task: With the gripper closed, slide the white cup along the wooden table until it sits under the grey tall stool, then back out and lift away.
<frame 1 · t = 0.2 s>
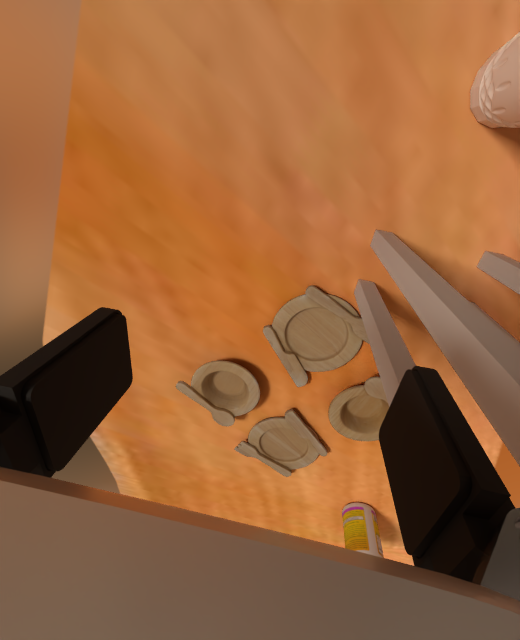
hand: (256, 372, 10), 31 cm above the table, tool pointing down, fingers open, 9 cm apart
supplement bottle: (358, 509, 62), on the table
grey tall stool: (442, 233, 35), on the table
white cup: (507, 86, 29), on the table
tableware set: (297, 390, 51), on the table
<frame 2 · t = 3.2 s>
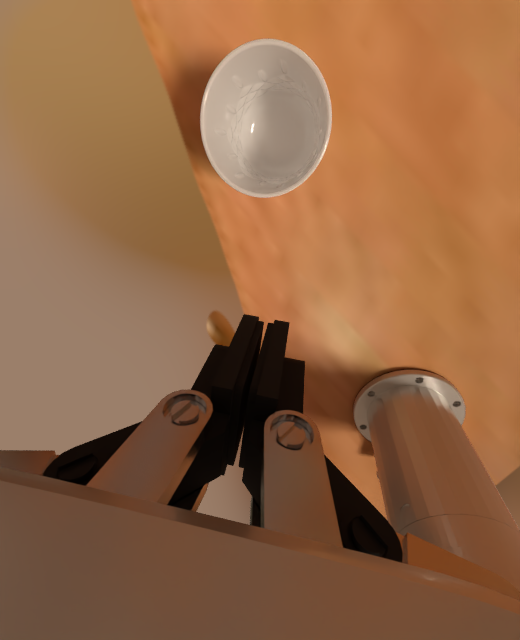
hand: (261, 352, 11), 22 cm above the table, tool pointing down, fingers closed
white cup: (281, 139, 27), on the table
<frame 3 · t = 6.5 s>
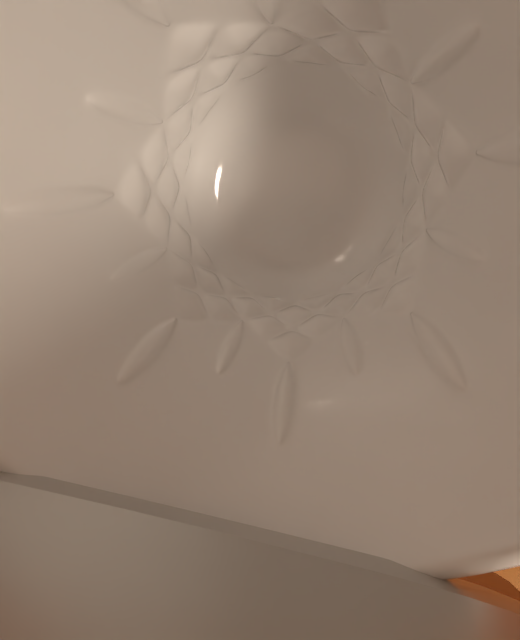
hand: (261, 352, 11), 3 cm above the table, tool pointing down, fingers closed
white cup: (294, 191, 11), on the table, touching gripper
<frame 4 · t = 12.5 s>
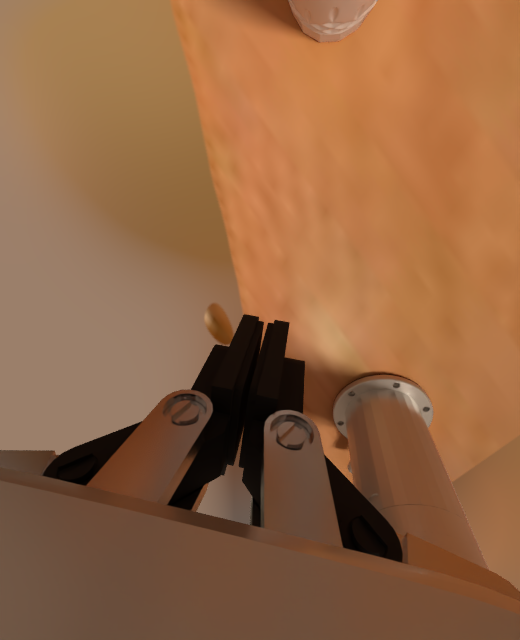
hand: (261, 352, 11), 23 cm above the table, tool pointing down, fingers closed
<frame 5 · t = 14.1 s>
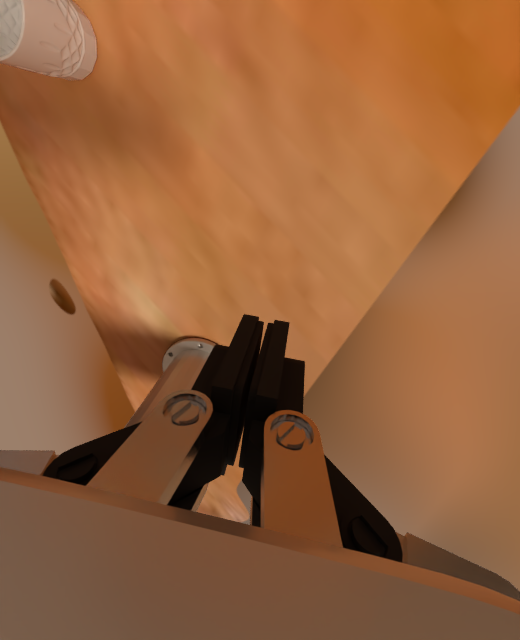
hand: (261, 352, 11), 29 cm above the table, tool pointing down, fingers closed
white cup: (69, 42, 32), on the table
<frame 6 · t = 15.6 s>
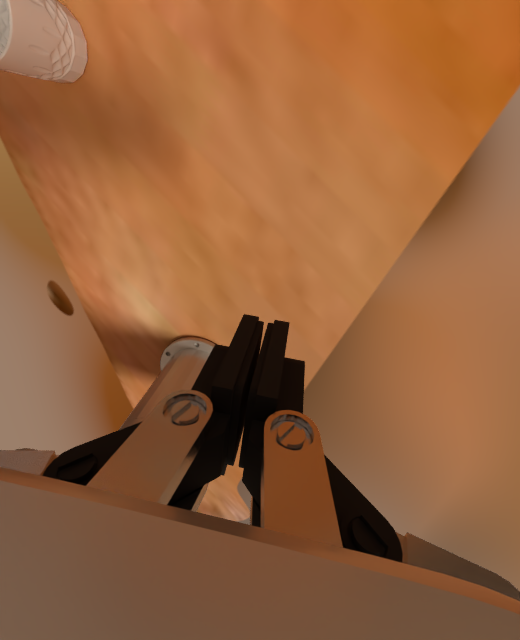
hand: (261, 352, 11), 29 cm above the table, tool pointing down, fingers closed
white cup: (60, 45, 32), on the table
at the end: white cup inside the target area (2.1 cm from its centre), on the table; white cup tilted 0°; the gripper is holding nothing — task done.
